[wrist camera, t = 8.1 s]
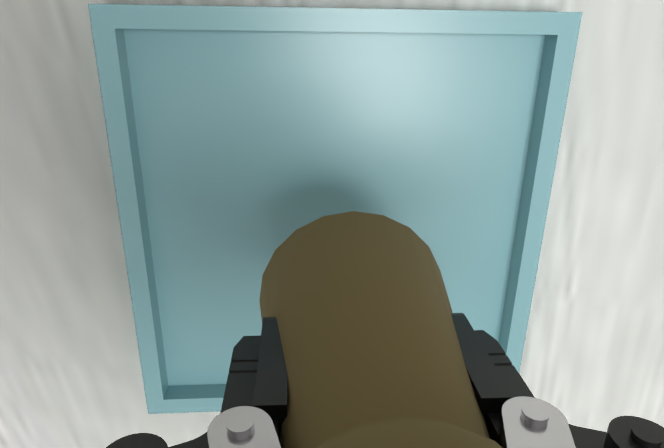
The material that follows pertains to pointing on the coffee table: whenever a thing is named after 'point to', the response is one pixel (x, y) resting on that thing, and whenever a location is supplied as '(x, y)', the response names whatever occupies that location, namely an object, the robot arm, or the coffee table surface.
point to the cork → (368, 340)
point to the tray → (322, 158)
